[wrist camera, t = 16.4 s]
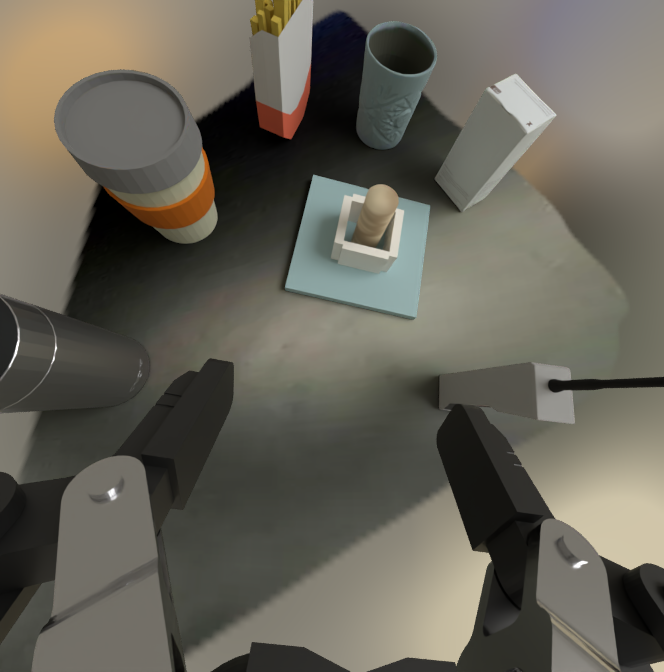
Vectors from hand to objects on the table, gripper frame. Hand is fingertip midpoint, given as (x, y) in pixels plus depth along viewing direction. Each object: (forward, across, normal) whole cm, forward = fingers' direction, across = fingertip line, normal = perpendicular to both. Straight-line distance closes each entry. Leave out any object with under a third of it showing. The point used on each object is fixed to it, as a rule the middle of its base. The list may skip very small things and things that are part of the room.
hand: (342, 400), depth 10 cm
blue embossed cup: (+54, -3, -14) cm, 56 cm away
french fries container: (+52, +13, -12) cm, 55 cm away
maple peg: (+36, -4, +2) cm, 37 cm away
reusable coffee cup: (+36, +23, +4) cm, 43 cm away
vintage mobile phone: (+23, -20, +17) cm, 35 cm away
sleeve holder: (+37, -4, +3) cm, 37 cm away
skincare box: (+48, -19, -8) cm, 53 cm away
